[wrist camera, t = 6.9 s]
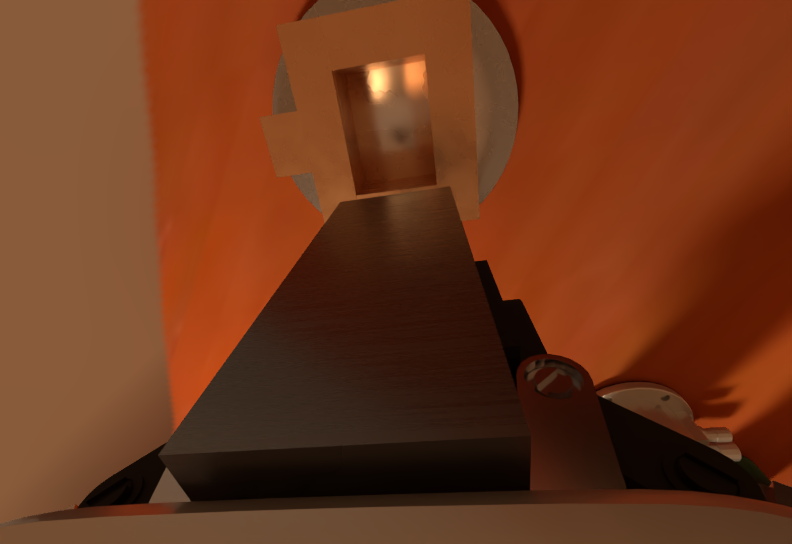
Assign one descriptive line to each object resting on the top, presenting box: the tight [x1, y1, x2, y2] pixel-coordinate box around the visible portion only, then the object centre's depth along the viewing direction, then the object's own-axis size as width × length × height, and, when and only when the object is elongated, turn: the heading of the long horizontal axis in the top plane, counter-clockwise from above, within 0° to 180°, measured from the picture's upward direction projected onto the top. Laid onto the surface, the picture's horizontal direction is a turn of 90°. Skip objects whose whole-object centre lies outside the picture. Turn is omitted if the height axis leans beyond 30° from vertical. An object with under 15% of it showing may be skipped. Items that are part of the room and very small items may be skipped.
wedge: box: [158, 186, 531, 502], centre depth 9 cm, size 4×6×10 cm, turn 9°
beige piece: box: [259, 0, 518, 223], centre depth 25 cm, size 18×18×6 cm
